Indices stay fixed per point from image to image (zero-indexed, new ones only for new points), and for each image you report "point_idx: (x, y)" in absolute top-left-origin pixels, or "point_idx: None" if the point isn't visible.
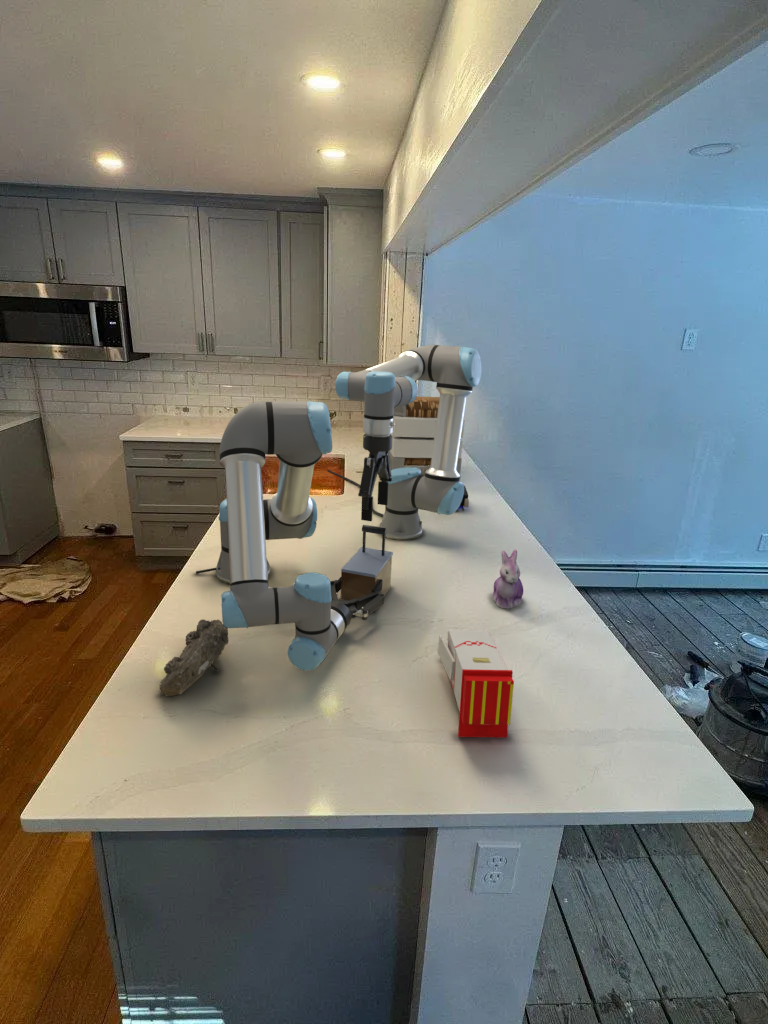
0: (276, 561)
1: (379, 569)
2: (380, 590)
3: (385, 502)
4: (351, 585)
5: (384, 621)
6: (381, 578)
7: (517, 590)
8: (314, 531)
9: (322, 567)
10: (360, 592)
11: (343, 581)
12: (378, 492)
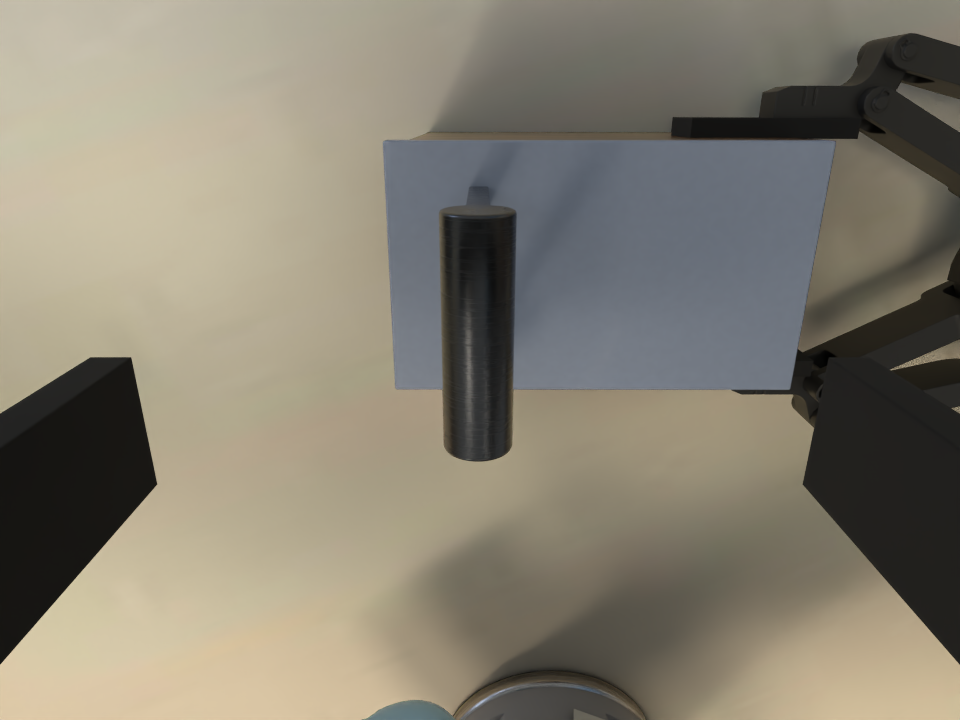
0: (392, 696)
1: (737, 141)
2: (814, 90)
3: (112, 395)
4: None
5: (801, 46)
6: (650, 137)
7: None
8: (436, 714)
9: (358, 521)
10: None
11: None
12: (47, 600)
